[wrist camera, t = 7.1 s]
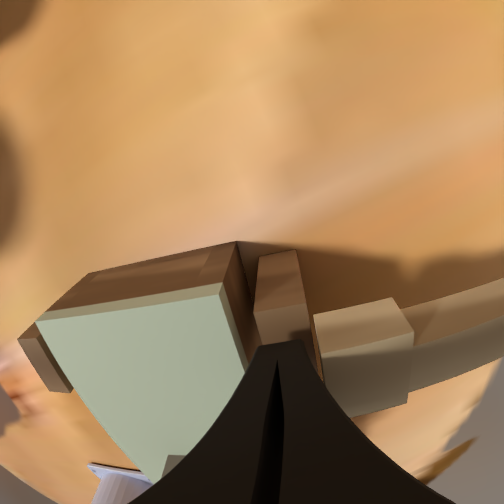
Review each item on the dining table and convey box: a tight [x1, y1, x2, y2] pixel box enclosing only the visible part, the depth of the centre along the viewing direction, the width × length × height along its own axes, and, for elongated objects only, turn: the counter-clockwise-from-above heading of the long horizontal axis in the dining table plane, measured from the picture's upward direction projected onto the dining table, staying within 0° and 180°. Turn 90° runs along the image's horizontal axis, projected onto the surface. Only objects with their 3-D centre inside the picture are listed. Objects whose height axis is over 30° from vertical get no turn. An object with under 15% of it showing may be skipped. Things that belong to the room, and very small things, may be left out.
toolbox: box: [17, 241, 318, 393], centre depth 14 cm, size 14×13×5 cm
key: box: [313, 278, 504, 418], centre depth 8 cm, size 3×10×2 cm, turn 103°
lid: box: [35, 282, 249, 484], centre depth 11 cm, size 14×8×5 cm, turn 14°
